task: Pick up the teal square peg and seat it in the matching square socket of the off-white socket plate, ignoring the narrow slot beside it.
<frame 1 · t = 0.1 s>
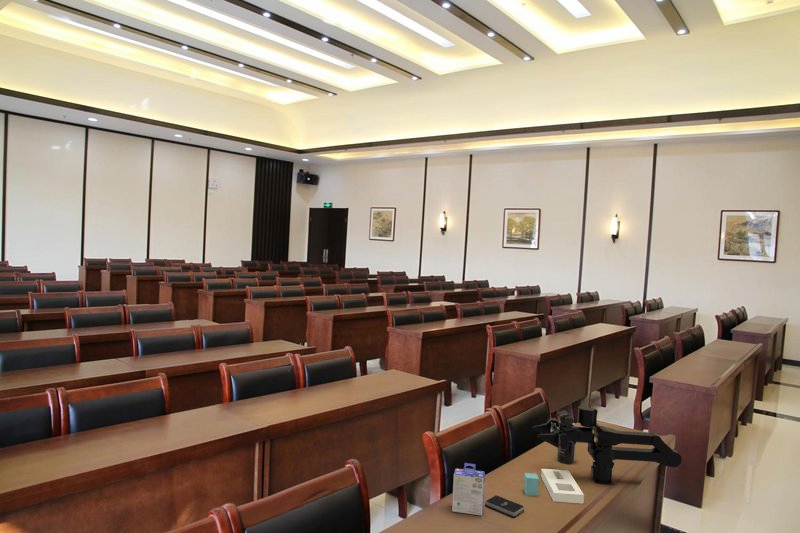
hand: (535, 431, 193), 17 cm above the table, tool horizontal, fingers open, 9 cm apart
ink cartridge box: (467, 510, 164), on the table
square peg: (530, 492, 178), on the table
supplement bottle: (565, 461, 209), on the table
external hard drive: (504, 510, 166), on the table
socket plate: (561, 489, 182), on the table
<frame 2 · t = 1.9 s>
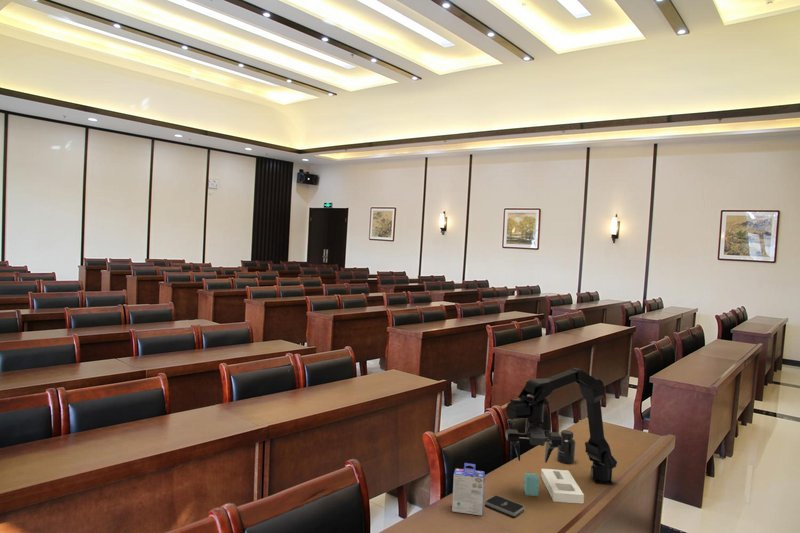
hand: (532, 461, 178), 11 cm above the table, tool pointing down, fingers open, 9 cm apart
nothing on the table moved.
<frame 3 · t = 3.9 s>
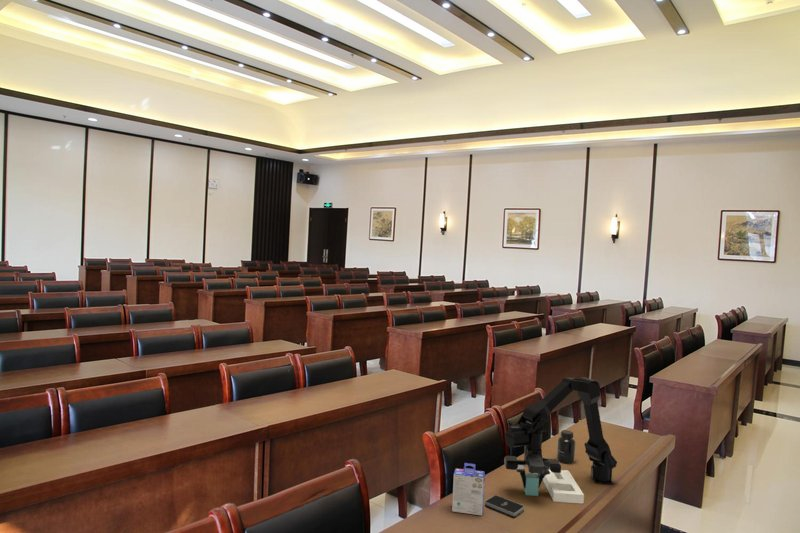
hand: (531, 488, 178), 2 cm above the table, tool pointing down, fingers closed on square peg, 4 cm apart
square peg: (530, 492, 178), on the table, touching gripper
everything else where it was.
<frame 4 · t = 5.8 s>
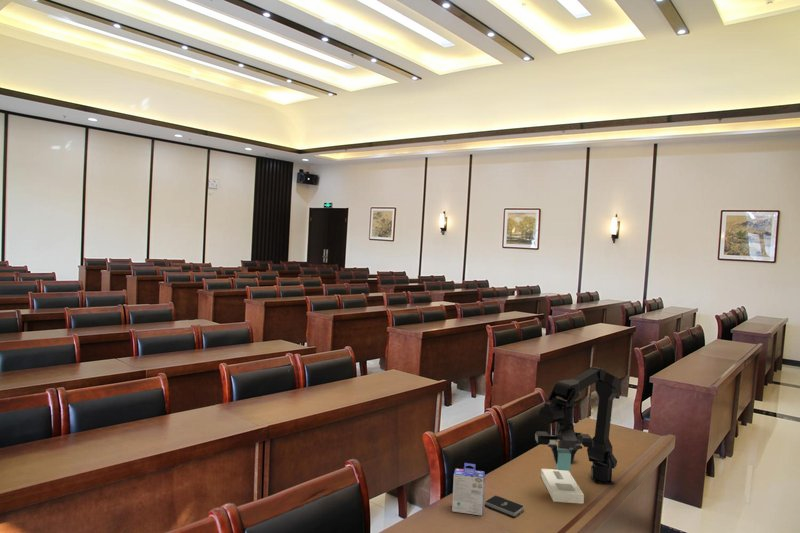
hand: (562, 463, 177), 11 cm above the table, tool pointing down, fingers closed on square peg, 4 cm apart
square peg: (562, 467, 177), point 10 cm above the table, touching gripper
everything else where it was.
when the fingers open (3 cm above the table, at t = 8.0 s): square peg drops 2 cm, resting in socket plate.
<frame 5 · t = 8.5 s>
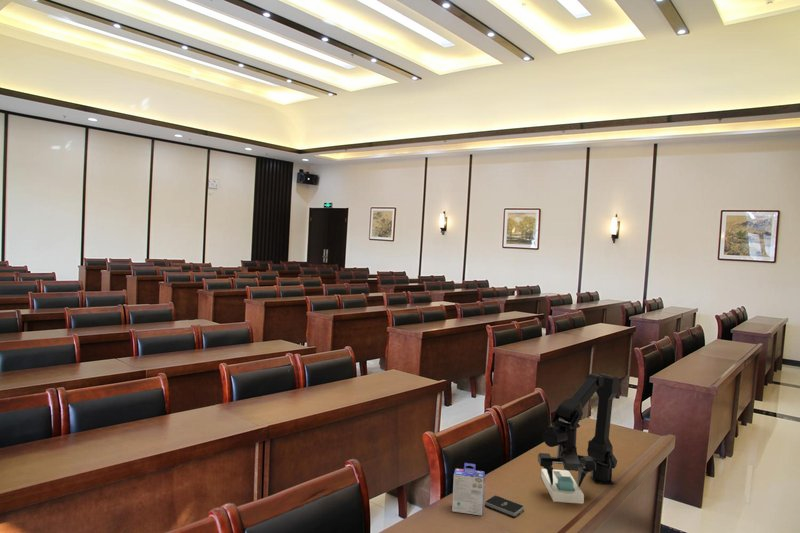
hand: (565, 485, 177), 3 cm above the table, tool pointing down, fingers open, 9 cm apart
square peg: (564, 496, 177), resting in socket plate
everything else where it was.
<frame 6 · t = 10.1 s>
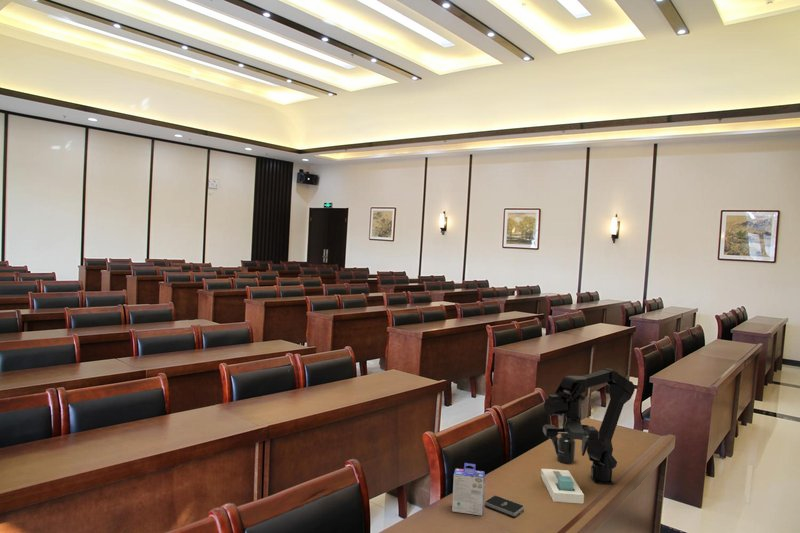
hand: (569, 455, 184), 12 cm above the table, tool pointing down, fingers open, 9 cm apart
nothing on the table moved.
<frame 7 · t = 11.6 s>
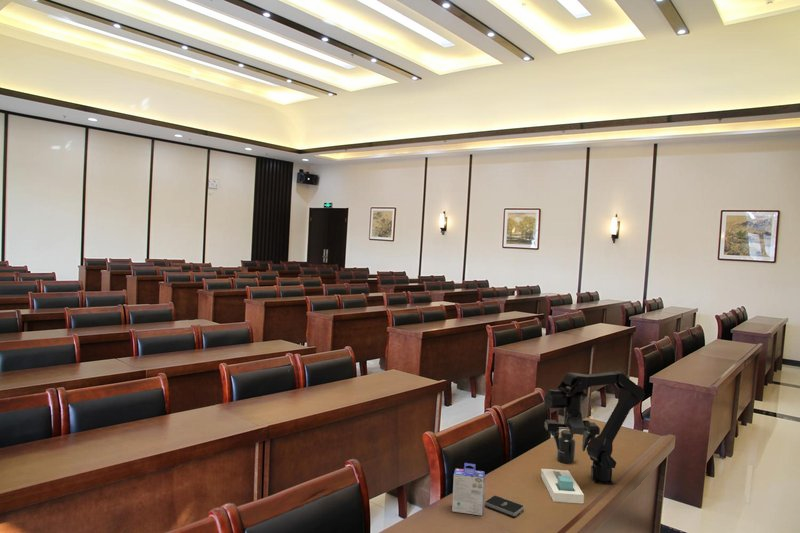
hand: (570, 450, 188), 12 cm above the table, tool pointing down, fingers open, 9 cm apart
nothing on the table moved.
at the end: square peg 0.0 cm from the target spot on the socket plate, point 0.0 cm above the socket plate's base; square peg tilted 0°; the gripper is holding nothing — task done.
